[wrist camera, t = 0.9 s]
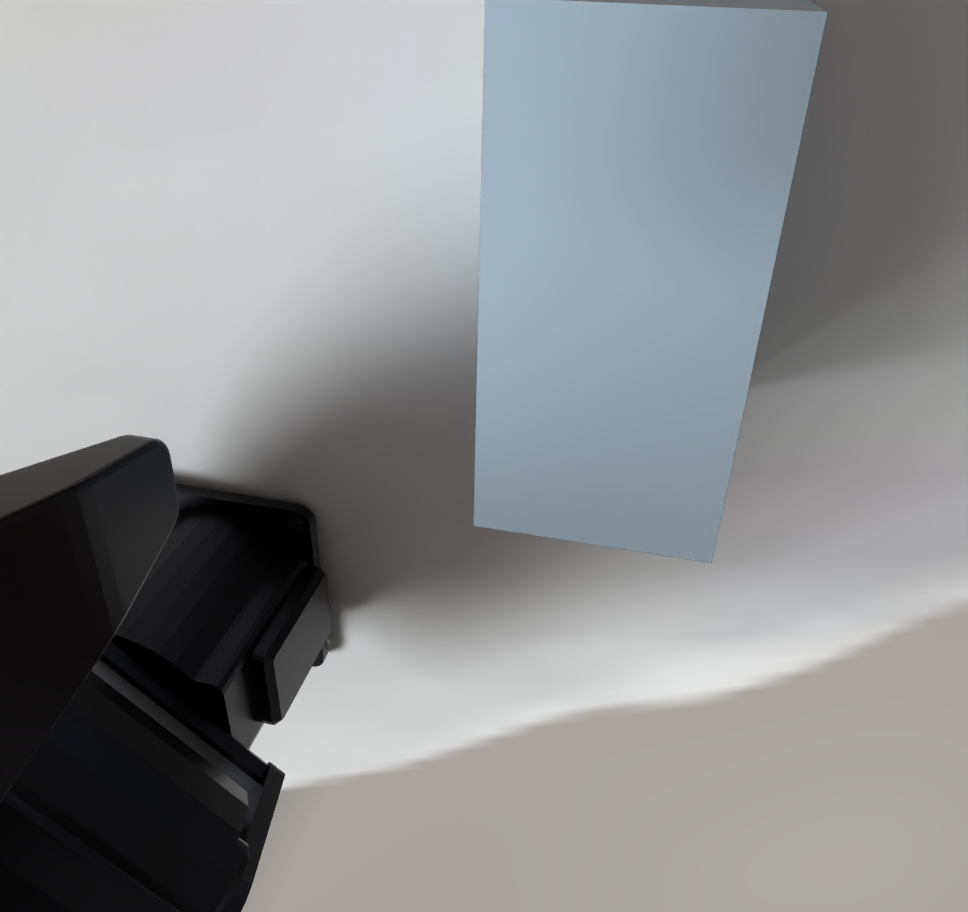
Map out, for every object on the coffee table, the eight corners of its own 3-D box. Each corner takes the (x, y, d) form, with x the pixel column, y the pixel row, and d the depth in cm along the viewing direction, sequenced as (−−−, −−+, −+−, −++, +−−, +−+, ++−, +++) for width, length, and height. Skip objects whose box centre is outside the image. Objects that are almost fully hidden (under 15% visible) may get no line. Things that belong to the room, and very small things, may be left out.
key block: (535, 371, 22) (473, 525, 16) (560, -23, 18) (484, -3, 12) (711, 392, 21) (712, 562, 16) (787, -14, 17) (827, 12, 11)
